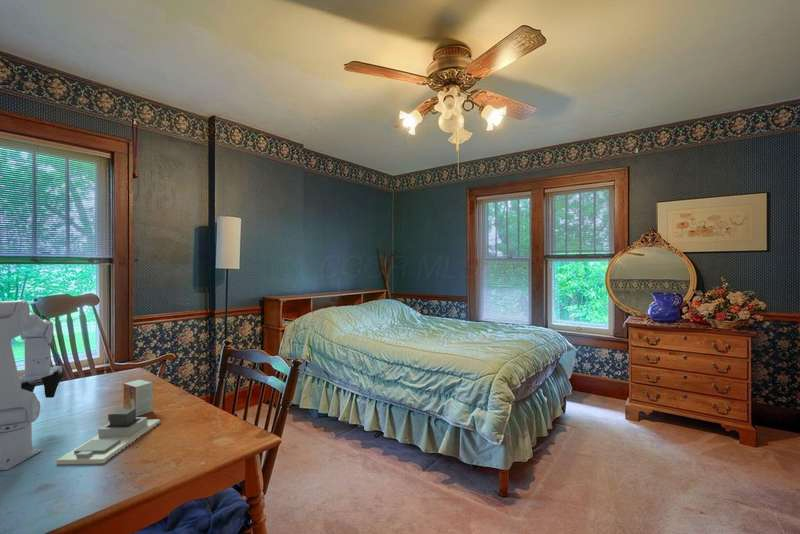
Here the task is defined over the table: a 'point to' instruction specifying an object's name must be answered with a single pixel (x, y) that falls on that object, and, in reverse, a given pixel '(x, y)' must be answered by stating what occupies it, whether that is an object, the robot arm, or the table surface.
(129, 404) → the small box
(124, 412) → the plug
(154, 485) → the table surface
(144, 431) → the socket base board
